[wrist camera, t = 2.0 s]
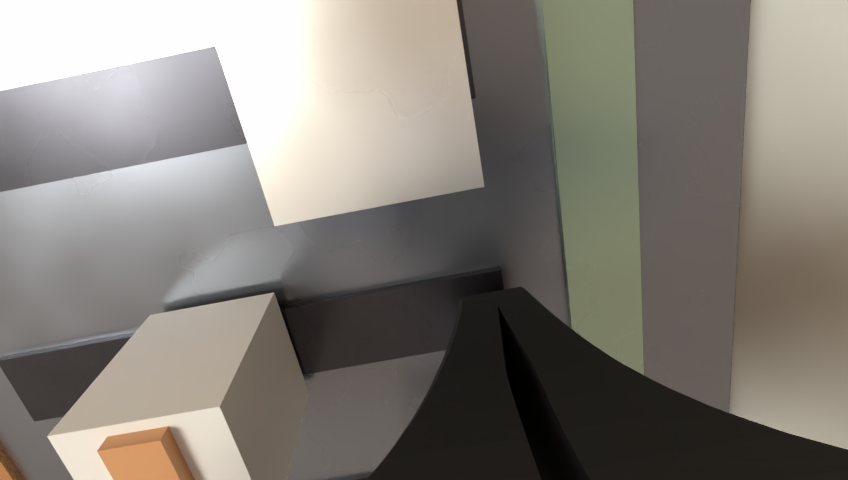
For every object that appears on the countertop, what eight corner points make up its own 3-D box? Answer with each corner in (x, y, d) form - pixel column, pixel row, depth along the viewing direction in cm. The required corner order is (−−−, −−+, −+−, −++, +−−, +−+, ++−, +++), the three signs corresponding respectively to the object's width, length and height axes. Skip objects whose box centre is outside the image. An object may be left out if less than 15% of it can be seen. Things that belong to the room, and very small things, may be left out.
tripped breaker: (309, 394, 13) (270, 547, 9) (195, 413, 13) (112, 572, 9) (274, 292, 11) (212, 420, 8) (150, 315, 12) (34, 450, 8)
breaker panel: (702, 477, 16) (822, 669, 11) (14, 585, 17) (-134, 801, 12) (719, -155, 10) (1008, -309, 5) (-371, 80, 11) (-964, 134, 6)
